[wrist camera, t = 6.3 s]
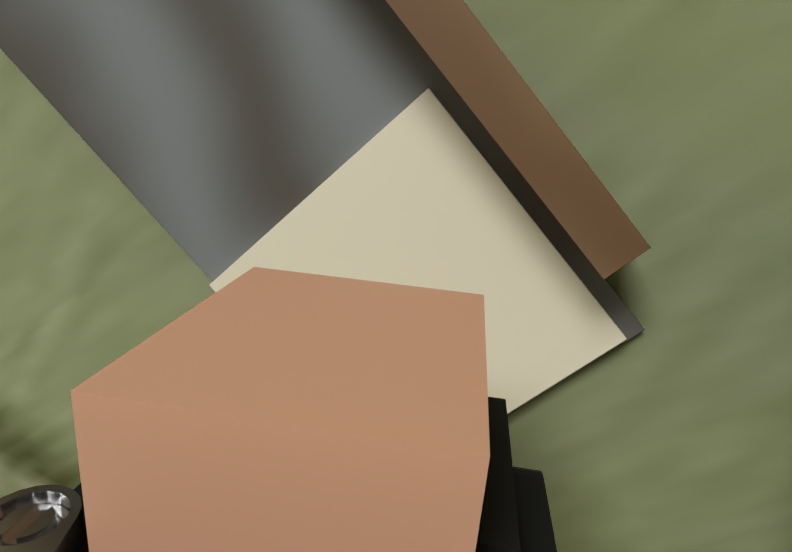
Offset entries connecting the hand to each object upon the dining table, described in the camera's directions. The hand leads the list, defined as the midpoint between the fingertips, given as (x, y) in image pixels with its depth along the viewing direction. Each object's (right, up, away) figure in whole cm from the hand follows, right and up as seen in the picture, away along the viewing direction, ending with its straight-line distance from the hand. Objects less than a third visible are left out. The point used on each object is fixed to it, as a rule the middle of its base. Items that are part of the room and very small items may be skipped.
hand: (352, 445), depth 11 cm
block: (0, 0, 0) cm, 0 cm away
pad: (+1, +2, +7) cm, 8 cm away
